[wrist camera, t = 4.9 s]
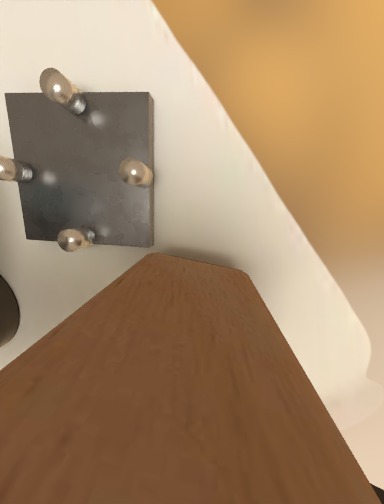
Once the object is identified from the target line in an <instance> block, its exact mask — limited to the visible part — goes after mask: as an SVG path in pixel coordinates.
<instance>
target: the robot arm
mask: <svg viewBox="0 0 384 504" xmlns="http://www.w3.org/2000/svg"><path fill="white" fill-rule="evenodd" d="M18 322H19V312H18V306H17V303H16V300H15V297H14V295H13V293H12V291H11V290H10V288H9V286H8V285H7V284H6V282H5V281H4V280H3V279H2V278H1V277H0V347H1V346H2V345H4V344H5V343H7V342H8V341H9V340H10V339H11V338H12V337H13V336H14V334H15V332H16V330H17V327H18ZM370 484H371V483H370ZM371 486H372V488H373V490H374V491H375V493H376V495H377V496H378V498H379V500H380V502H381V503H382V504H384V490H382V489H380V488H378V487H376V486H374V485H372V484H371Z"/></svg>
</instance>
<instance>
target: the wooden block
mask: <svg viewBox="0 0 384 504" xmlns="http://www.w3.org/2000/svg"><path fill="white" fill-rule="evenodd" d="M0 504H382V503H381V502H380V500H379V498H378V496H377V495H376V493H375V491H374V490H373V488H372V486H371V484H370V483H369V481H368V479H367V478H366V476H365V474H364V472H363V471H362V469H361V467H360V466H359V464H358V462H357V460H356V459H355V457H354V455H353V454H352V452H351V450H350V449H349V447H348V445H347V444H346V442H345V440H344V438H343V437H342V435H341V433H340V431H339V430H338V428H337V426H336V425H335V423H334V421H333V419H332V418H331V416H330V414H329V413H328V411H327V409H326V407H325V406H324V404H323V402H322V401H321V399H320V397H319V395H318V394H317V392H316V390H315V389H314V387H313V385H312V384H311V382H310V380H309V378H308V377H307V375H306V373H305V372H304V370H303V368H302V366H301V365H300V363H299V361H298V360H297V358H296V356H295V354H294V353H293V351H292V349H291V348H290V346H289V344H288V342H287V341H286V339H285V337H284V336H283V334H282V332H281V330H280V329H279V327H278V325H277V324H276V322H275V320H274V319H273V317H272V315H271V313H270V312H269V310H268V308H267V307H266V305H265V303H264V301H263V300H262V298H261V296H260V295H259V293H258V291H257V289H256V288H255V286H254V284H253V283H252V281H251V279H250V277H249V276H248V275H247V274H246V273H244V272H243V271H241V270H236V269H232V268H227V267H222V266H217V265H212V264H208V263H203V262H198V261H193V260H188V259H184V258H179V257H174V256H169V255H165V254H160V253H151V254H148V255H146V256H145V257H144V258H143V259H141V260H140V261H139V262H137V263H136V264H135V265H134V266H132V267H131V268H130V269H129V270H127V271H126V272H125V273H124V274H122V275H121V276H120V277H118V278H117V279H116V280H115V281H113V282H112V283H111V284H110V285H108V286H107V287H106V288H105V289H103V290H102V291H101V292H99V293H98V294H97V295H96V296H94V297H93V298H92V299H91V300H89V301H88V302H87V303H85V304H84V305H83V306H82V307H80V308H79V309H78V310H77V311H75V312H74V313H73V314H72V315H70V316H69V317H68V318H66V319H65V320H64V321H63V322H61V323H60V324H59V325H58V326H56V327H55V328H54V329H53V330H51V331H50V332H49V333H47V334H46V335H45V336H44V337H42V338H41V339H40V340H39V341H37V342H36V343H35V344H34V345H32V346H31V347H30V348H28V349H27V350H26V351H25V352H23V353H22V354H21V355H20V356H18V357H17V358H16V359H15V360H13V361H12V362H11V363H9V364H8V365H7V366H6V367H4V368H3V369H2V370H1V371H0Z"/></svg>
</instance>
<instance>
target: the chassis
mask: <svg viewBox="0 0 384 504" xmlns="http://www.w3.org/2000/svg"><path fill="white" fill-rule="evenodd" d="M40 87H41V90H42V92H43V93H5V99H6V106H7V112H8V119H9V126H10V132H11V139H12V146H13V152H14V159H11V158H7V157H3V156H0V180H5V181H12V182H18V186H19V192H20V199H21V206H22V212H23V219H24V225H25V232H26V239H29V240H44V241H58V244H59V246H60V247H61V248H62V249H63V250H65V251H67V252H72V251H75V250H79V249H82V248H85V247H88V246H91V245H92V244H105V245H120V246H136V247H151V246H153V99H152V97H151V95H150V93H149V92H84V93H82V92H81V91H80V90H79V89H78V88H77V87H76V86H75V85H74V84H72V83H71V82H70V81H69V80H68V79H67V78H66V77H65V76H63V75H62V74H61V73H60V72H59V71H58V70H56V69H54V68H47V69H45V70H44V71H43V72H42V74H41V76H40Z"/></svg>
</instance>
